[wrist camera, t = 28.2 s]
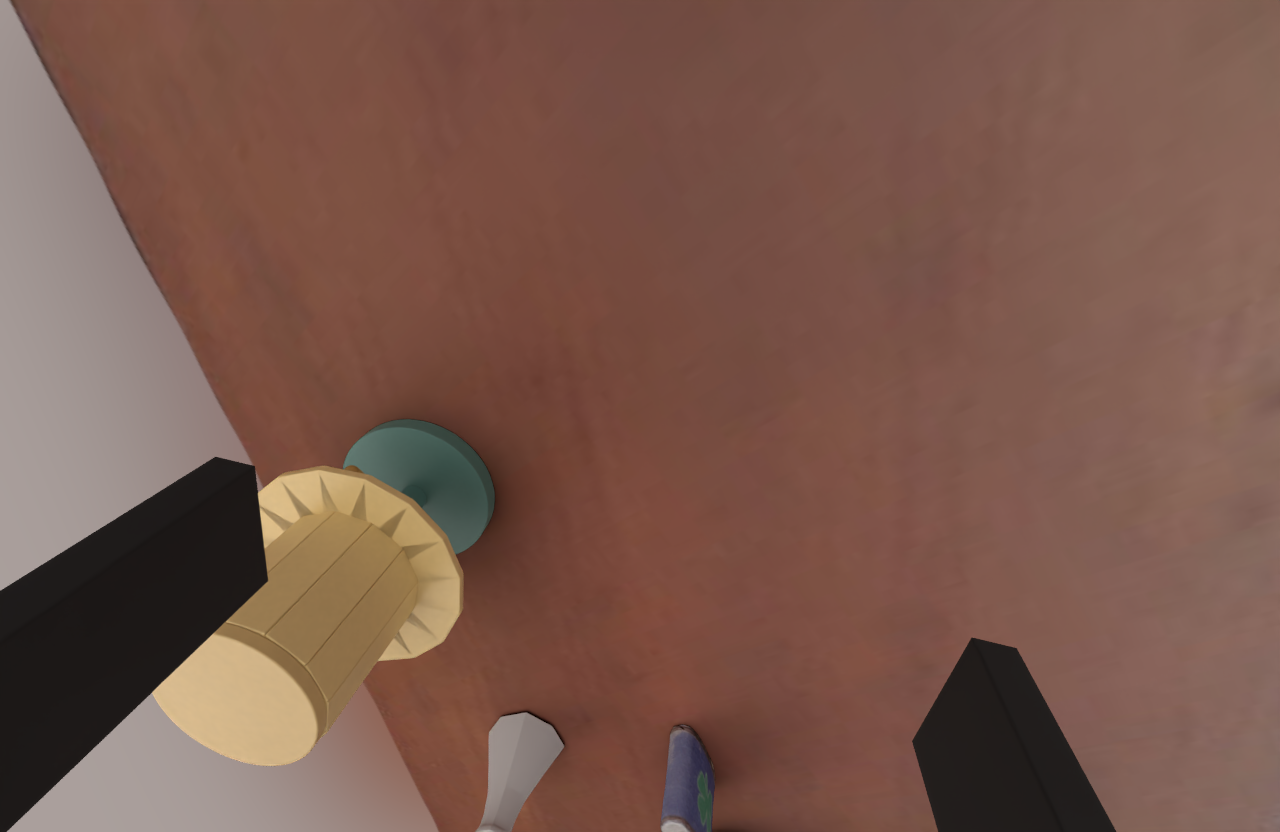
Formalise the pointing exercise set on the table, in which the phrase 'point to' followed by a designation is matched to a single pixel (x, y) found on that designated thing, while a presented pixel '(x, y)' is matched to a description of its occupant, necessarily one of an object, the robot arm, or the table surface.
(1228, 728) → the table surface
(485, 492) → the hat stand
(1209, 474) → the table surface
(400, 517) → the hat
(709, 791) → the flask
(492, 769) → the flask
